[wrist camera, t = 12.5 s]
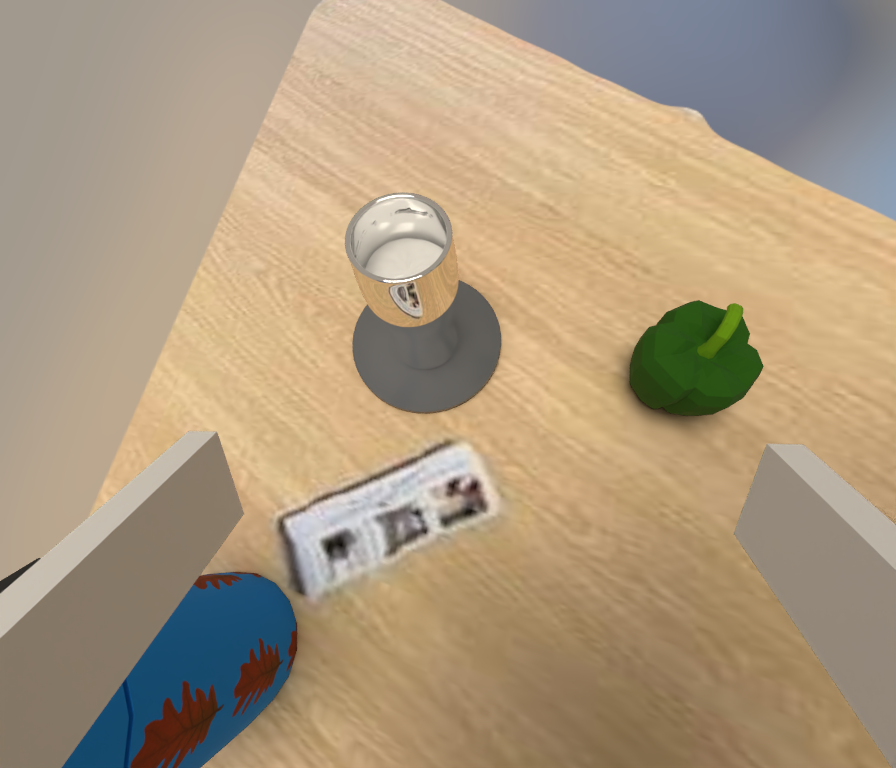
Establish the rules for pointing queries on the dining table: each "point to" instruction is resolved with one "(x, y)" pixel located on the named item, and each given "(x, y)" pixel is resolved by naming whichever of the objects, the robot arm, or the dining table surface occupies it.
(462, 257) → the dining table surface
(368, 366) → the coaster
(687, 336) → the bell pepper
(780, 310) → the dining table surface
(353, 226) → the metal tumbler
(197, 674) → the thermos
